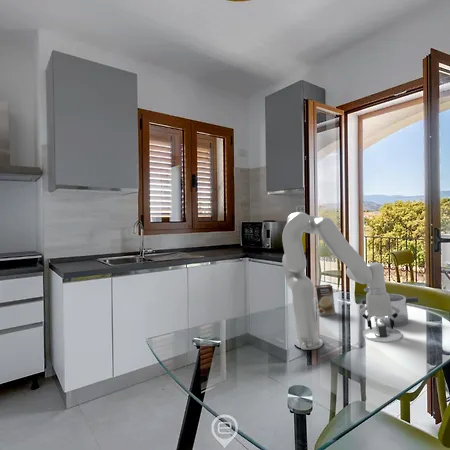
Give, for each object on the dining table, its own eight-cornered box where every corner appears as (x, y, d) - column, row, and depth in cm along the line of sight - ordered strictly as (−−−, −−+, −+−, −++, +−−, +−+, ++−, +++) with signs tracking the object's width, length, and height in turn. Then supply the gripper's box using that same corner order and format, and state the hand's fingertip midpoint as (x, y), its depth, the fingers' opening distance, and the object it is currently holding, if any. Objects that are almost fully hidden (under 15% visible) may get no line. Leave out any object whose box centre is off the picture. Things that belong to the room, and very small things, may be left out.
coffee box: (319, 316, 182) (315, 288, 182) (317, 312, 188) (313, 285, 188) (335, 314, 181) (332, 286, 181) (333, 311, 187) (329, 283, 187)
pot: (415, 315, 165) (412, 292, 164) (424, 326, 150) (421, 300, 150) (362, 317, 172) (360, 294, 172) (366, 327, 158) (363, 303, 157)
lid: (405, 342, 137) (404, 328, 137) (365, 343, 142) (363, 329, 142) (397, 328, 152) (396, 315, 152) (361, 329, 157) (359, 316, 157)
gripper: (356, 293, 146) (361, 331, 146) (399, 291, 140) (404, 330, 141) (355, 289, 153) (359, 325, 153) (396, 287, 148) (400, 324, 148)
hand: (381, 328), depth 147 cm, fingers open, 8 cm apart
